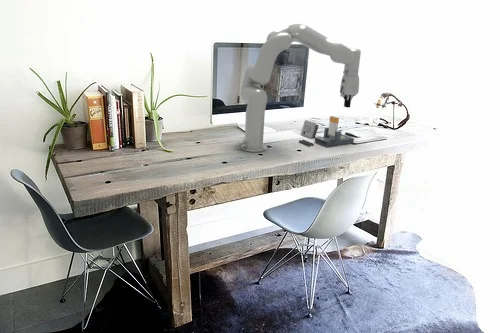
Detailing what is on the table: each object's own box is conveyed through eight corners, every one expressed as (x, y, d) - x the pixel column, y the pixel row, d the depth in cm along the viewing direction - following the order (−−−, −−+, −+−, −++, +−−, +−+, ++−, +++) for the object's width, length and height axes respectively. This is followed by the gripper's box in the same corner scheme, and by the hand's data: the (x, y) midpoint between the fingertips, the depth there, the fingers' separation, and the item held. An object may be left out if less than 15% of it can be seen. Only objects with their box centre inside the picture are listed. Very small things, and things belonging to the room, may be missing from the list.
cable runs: (309, 146, 206) (309, 144, 206) (298, 142, 214) (298, 139, 213) (314, 146, 208) (314, 143, 208) (303, 141, 216) (303, 139, 215)
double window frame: (326, 147, 206) (328, 133, 203) (314, 142, 214) (315, 129, 211) (353, 143, 216) (355, 129, 213) (340, 139, 224) (342, 125, 221)
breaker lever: (334, 139, 210) (337, 118, 206) (326, 136, 215) (329, 116, 211) (337, 138, 211) (339, 118, 207) (329, 136, 216) (331, 115, 212)
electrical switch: (300, 135, 228) (302, 119, 226) (306, 135, 231) (309, 119, 229) (311, 139, 221) (313, 123, 219) (317, 138, 224) (320, 123, 222)
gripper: (345, 74, 198) (341, 109, 205) (366, 73, 206) (361, 107, 212) (335, 72, 204) (332, 106, 211) (355, 71, 212) (351, 104, 218)
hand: (346, 106), depth 211 cm, fingers closed
